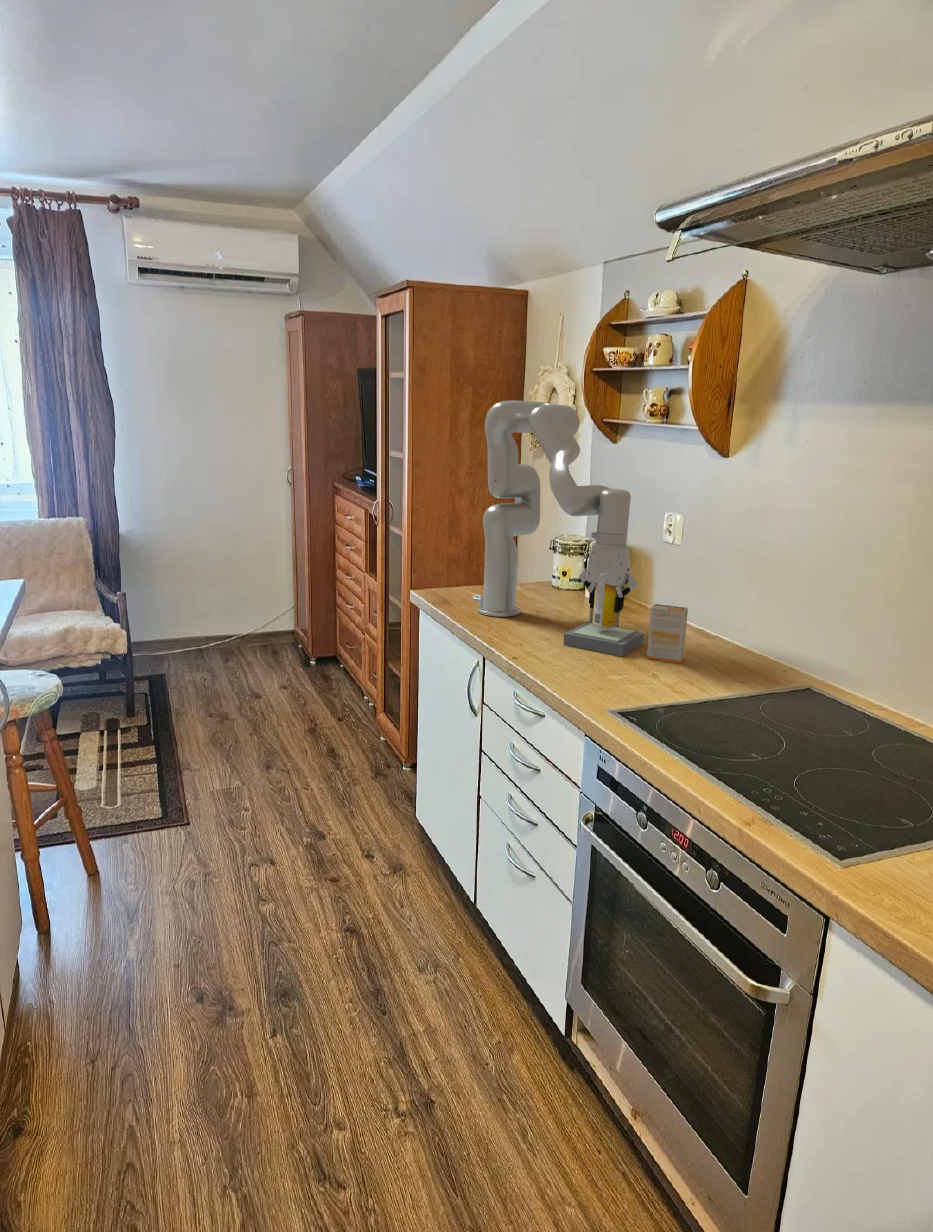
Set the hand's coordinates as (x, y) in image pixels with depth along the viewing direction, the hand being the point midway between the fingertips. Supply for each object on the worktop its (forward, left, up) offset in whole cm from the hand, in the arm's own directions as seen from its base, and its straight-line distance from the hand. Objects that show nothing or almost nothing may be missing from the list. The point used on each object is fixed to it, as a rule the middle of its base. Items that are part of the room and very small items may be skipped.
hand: (605, 608), depth 207 cm
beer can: (0, 0, -5) cm, 5 cm away
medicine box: (-6, +14, -10) cm, 18 cm away
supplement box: (+17, -2, -10) cm, 20 cm away
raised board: (0, 0, -9) cm, 9 cm away
